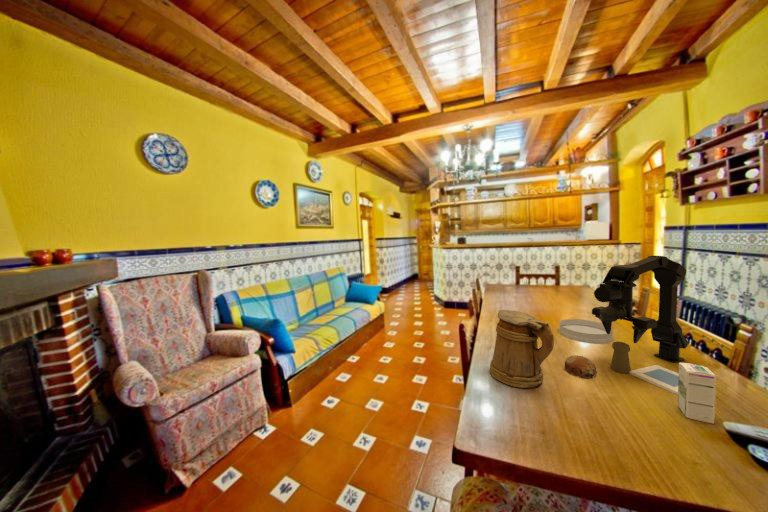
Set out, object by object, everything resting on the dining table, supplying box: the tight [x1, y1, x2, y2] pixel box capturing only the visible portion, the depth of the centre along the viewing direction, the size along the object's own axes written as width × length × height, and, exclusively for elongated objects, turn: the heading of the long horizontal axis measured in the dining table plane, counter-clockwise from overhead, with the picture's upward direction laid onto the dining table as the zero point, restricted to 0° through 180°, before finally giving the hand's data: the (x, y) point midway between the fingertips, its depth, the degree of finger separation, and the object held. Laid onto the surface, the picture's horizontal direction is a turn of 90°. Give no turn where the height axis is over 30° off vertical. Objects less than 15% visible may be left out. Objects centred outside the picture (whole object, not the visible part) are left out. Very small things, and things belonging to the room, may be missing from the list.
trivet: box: [628, 364, 679, 396], centre depth 93 cm, size 14×14×1 cm
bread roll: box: [564, 354, 598, 379], centre depth 101 cm, size 10×10×8 cm
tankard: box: [489, 309, 555, 389], centre depth 98 cm, size 18×24×25 cm
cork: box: [609, 341, 632, 375], centre depth 100 cm, size 6×6×11 cm
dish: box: [558, 318, 614, 345], centre depth 134 cm, size 22×22×5 cm
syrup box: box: [677, 361, 717, 425], centre depth 75 cm, size 6×6×14 cm
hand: (621, 338), depth 100 cm, fingers open, 9 cm apart
